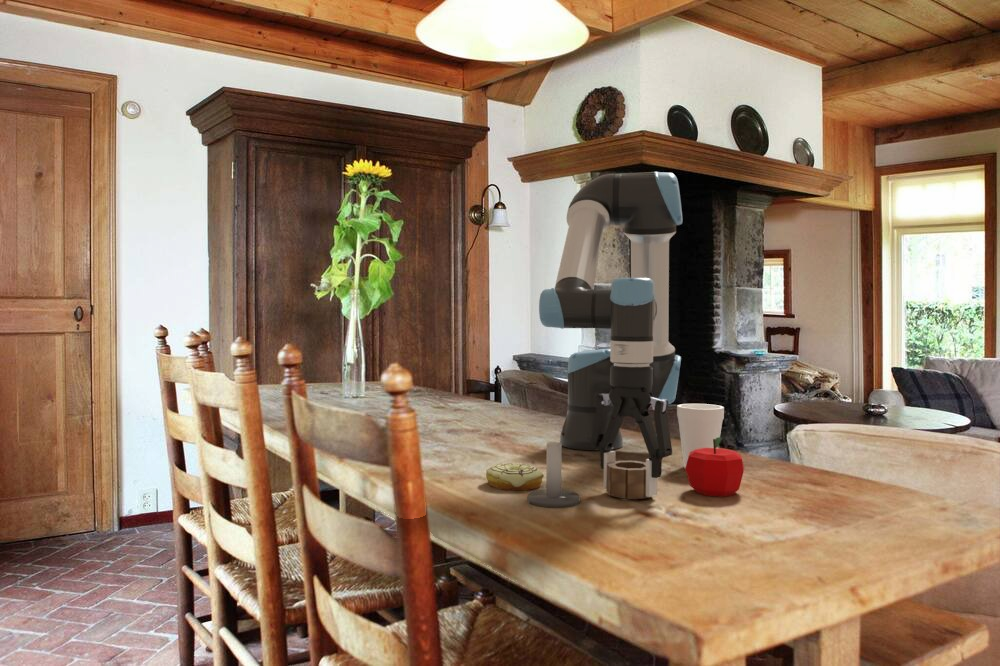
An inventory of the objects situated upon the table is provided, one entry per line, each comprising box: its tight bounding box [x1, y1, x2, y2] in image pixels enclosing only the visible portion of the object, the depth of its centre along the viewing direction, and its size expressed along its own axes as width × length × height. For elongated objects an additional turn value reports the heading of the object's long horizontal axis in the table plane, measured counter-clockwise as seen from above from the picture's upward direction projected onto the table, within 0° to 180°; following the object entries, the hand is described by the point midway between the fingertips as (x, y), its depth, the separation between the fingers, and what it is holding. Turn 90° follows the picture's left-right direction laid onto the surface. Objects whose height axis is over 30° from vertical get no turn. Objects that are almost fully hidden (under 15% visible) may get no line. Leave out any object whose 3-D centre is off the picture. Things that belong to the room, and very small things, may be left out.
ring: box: [605, 460, 648, 500], centre depth 143 cm, size 8×8×5 cm
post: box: [527, 442, 581, 509], centre depth 139 cm, size 9×9×10 cm
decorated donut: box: [485, 462, 545, 491], centre depth 151 cm, size 10×11×4 cm
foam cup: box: [676, 403, 725, 469], centre depth 168 cm, size 10×9×13 cm
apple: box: [684, 437, 745, 497], centre depth 146 cm, size 11×11×10 cm
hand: (629, 491), depth 143 cm, fingers closed on ring, 8 cm apart
